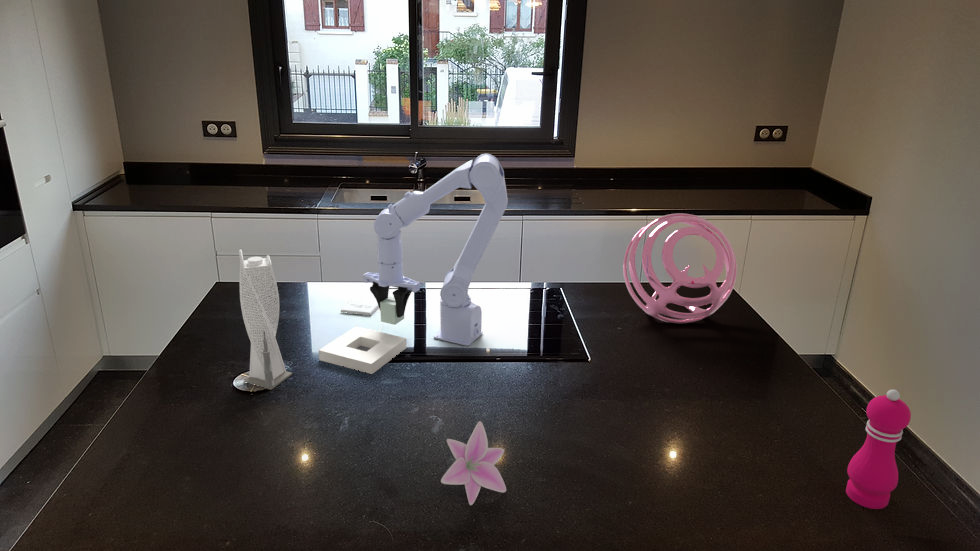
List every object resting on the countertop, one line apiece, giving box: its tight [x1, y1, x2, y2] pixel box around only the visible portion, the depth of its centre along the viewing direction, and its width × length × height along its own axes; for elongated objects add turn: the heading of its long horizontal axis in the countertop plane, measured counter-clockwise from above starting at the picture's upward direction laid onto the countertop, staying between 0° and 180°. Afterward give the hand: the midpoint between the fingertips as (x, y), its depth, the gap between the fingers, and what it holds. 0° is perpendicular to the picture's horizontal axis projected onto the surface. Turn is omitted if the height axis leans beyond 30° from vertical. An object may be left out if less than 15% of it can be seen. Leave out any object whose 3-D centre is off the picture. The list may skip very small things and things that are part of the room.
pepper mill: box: [845, 388, 912, 510], centre depth 109 cm, size 7×7×20 cm
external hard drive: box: [340, 291, 379, 316], centre depth 182 cm, size 2×8×12 cm
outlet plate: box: [318, 325, 408, 375], centre depth 156 cm, size 14×14×2 cm
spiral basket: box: [622, 212, 738, 324], centre depth 176 cm, size 28×28×27 cm
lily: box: [440, 420, 507, 506], centre depth 112 cm, size 12×12×10 cm
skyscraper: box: [238, 249, 293, 391], centre depth 141 cm, size 8×8×28 cm
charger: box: [379, 296, 405, 325], centre depth 164 cm, size 4×4×5 cm
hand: (392, 314), depth 165 cm, fingers closed on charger, 4 cm apart
